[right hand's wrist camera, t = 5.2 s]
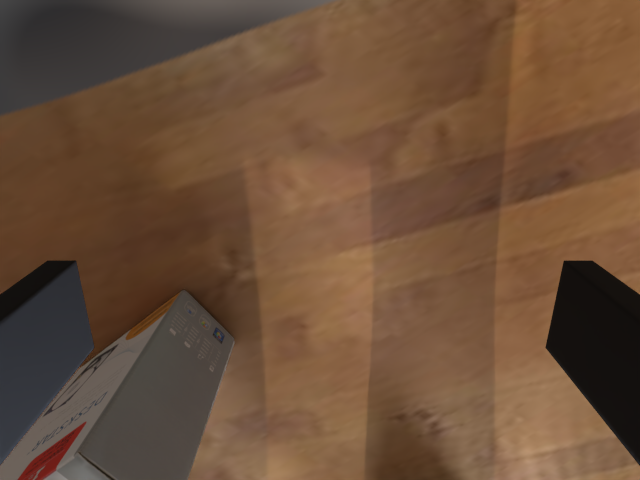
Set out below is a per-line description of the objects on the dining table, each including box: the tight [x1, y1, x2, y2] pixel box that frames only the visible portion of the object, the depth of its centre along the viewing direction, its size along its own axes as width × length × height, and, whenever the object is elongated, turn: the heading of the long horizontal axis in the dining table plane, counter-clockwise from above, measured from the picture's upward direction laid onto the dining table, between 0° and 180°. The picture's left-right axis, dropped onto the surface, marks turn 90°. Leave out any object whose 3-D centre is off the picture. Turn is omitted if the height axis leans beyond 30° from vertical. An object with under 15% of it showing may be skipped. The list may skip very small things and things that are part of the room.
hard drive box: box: [0, 290, 235, 480], centre depth 37 cm, size 16×8×20 cm, turn 128°
